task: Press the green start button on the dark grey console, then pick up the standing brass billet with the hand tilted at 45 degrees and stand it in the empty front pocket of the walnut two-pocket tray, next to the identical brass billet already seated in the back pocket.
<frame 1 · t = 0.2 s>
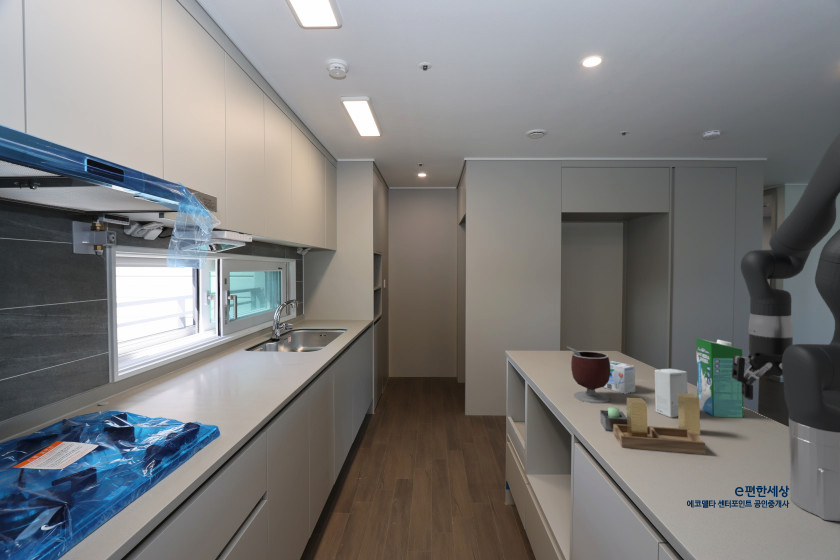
hand: (769, 399, 86), 17 cm above the worktop, tool pointing down, fingers open, 8 cm apart
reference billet: (637, 441, 103), resting on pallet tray
milk carton: (719, 412, 123), on the worktop
mate gourd: (588, 398, 141), on the worktop
skincare box: (671, 413, 123), on the worktop
light bulb box: (618, 389, 150), on the worktop
button housing: (614, 427, 113), on the worktop
billet: (689, 431, 109), on the worktop
start button: (613, 415, 113), point 4 cm above the worktop, slide at 0.0 cm
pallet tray: (656, 443, 102), on the worktop
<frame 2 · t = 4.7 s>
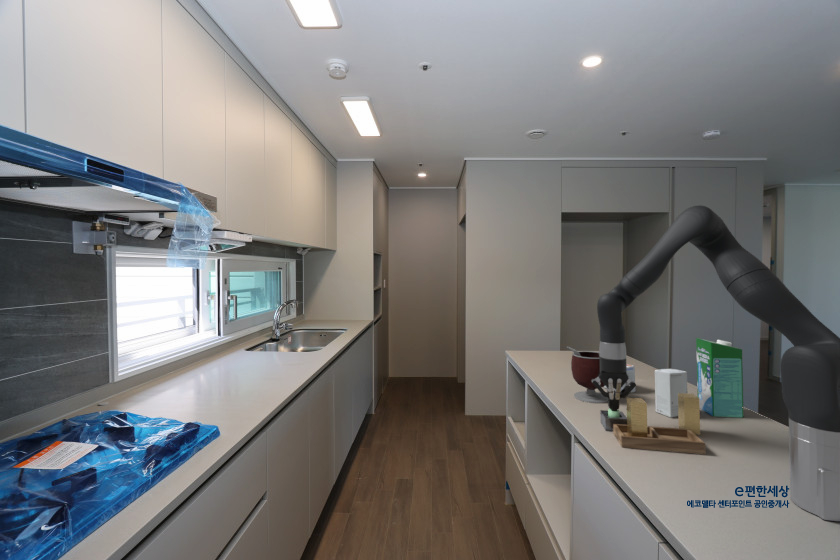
hand: (613, 410, 113), 5 cm above the worktop, tool pointing down, fingers closed
start button: (613, 416, 113), point 3 cm above the worktop, slide at 0.5 cm, touching gripper
everything else where it was.
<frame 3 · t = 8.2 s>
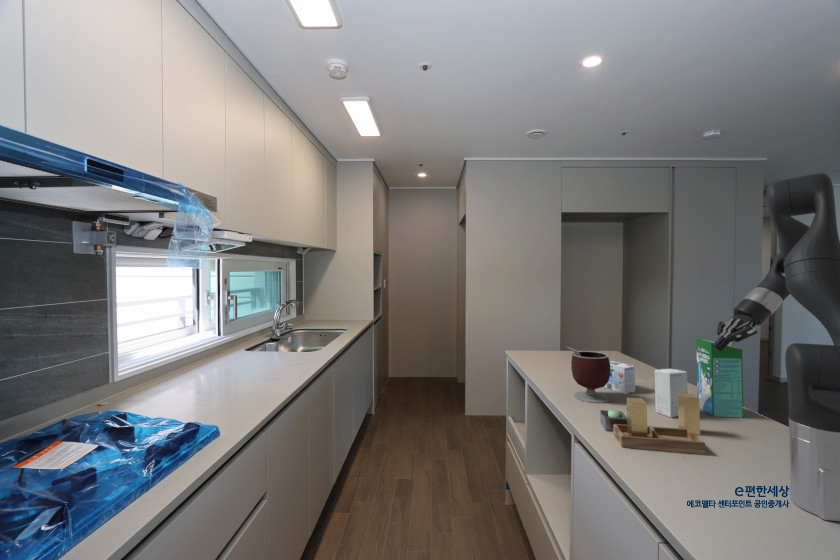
hand: (716, 348, 108), 25 cm above the worktop, tool tilted 45°, fingers closed
start button: (613, 418, 113), point 3 cm above the worktop, slide at 1.0 cm
everything else where it was.
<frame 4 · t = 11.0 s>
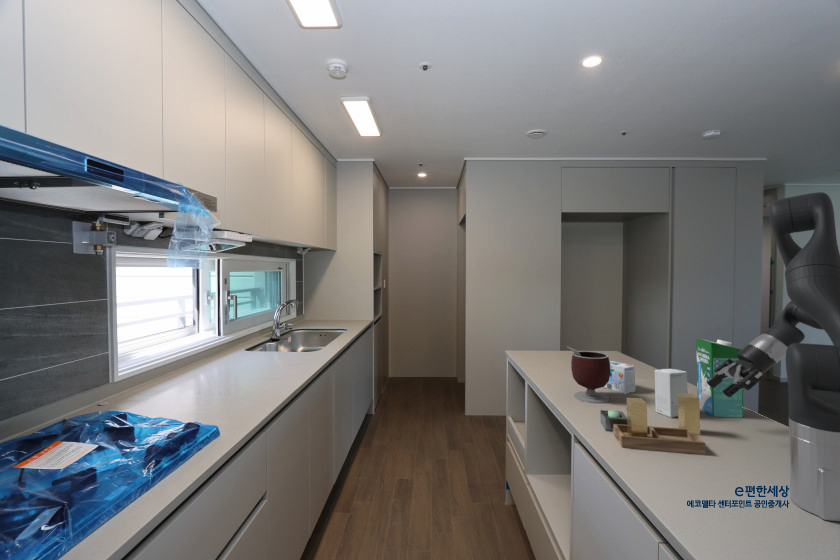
hand: (717, 390, 107), 13 cm above the worktop, tool tilted 45°, fingers open, 8 cm apart
nothing on the worktop moved.
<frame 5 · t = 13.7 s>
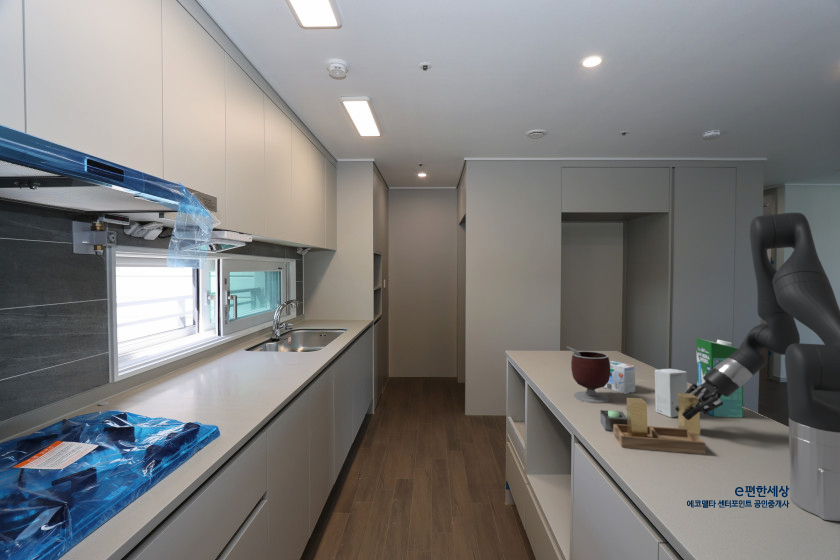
hand: (681, 414, 109), 5 cm above the worktop, tool tilted 45°, fingers closed on billet, 4 cm apart
billet: (689, 431, 109), on the worktop, touching gripper
everything else where it was.
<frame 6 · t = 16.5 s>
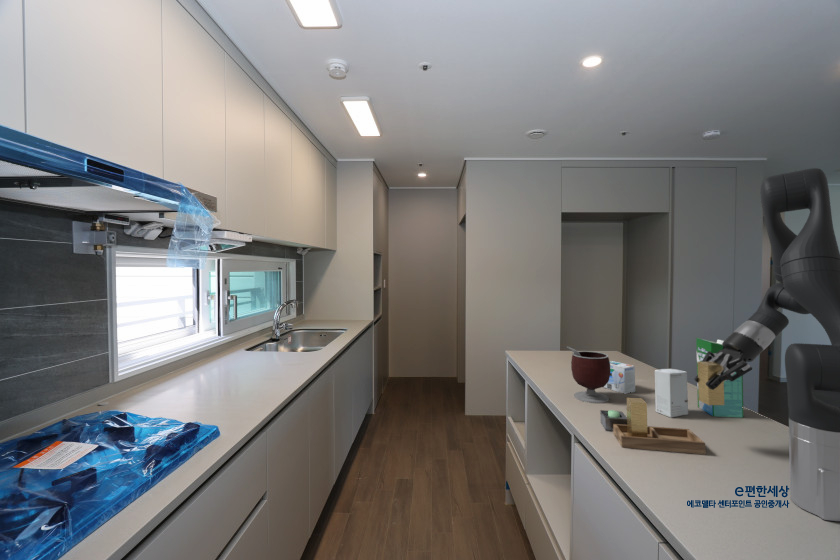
hand: (703, 384, 100), 17 cm above the worktop, tool tilted 45°, fingers closed on billet, 4 cm apart
billet: (711, 402, 100), point 12 cm above the worktop, touching gripper
everything else where it was.
when the fingers open (7 cm above the worktop, at t = 19.2 s): billet drops 1 cm, resting on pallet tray.
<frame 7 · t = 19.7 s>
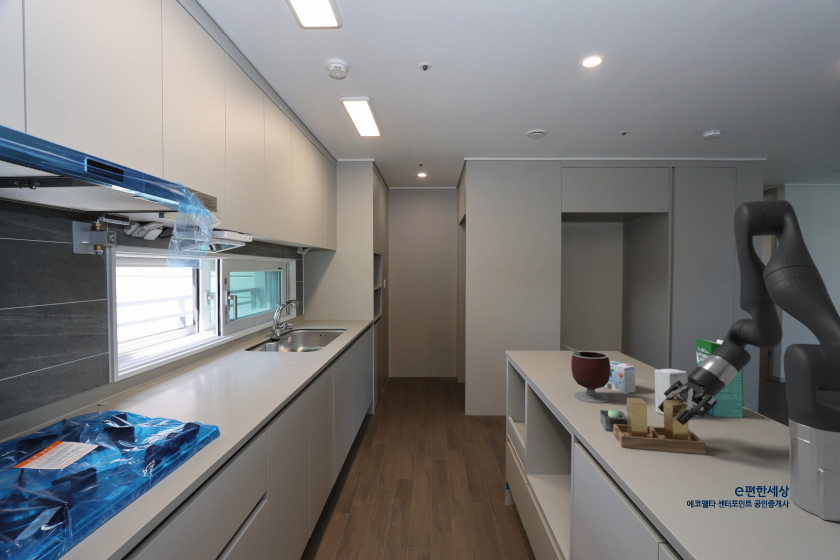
hand: (669, 416, 101), 8 cm above the worktop, tool tilted 45°, fingers open, 8 cm apart
billet: (676, 441, 100), point 1 cm above the worktop, touching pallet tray
everything else where it was.
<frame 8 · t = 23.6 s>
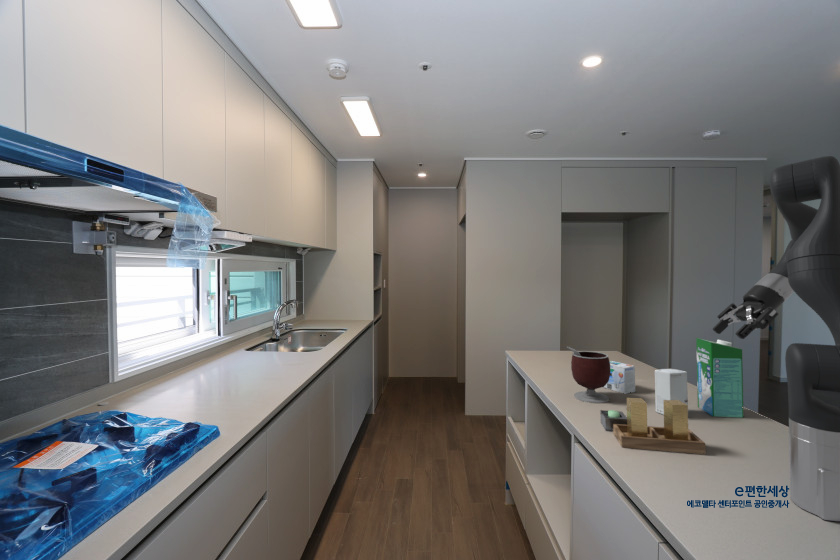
hand: (726, 334, 102), 31 cm above the worktop, tool tilted 45°, fingers open, 8 cm apart
nothing on the worktop moved.
at the end: billet inside the target area on the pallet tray (0.2 cm from its centre), point 1.0 cm above the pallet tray's base; billet tilted 0°; start button slide at 1.0 cm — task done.
